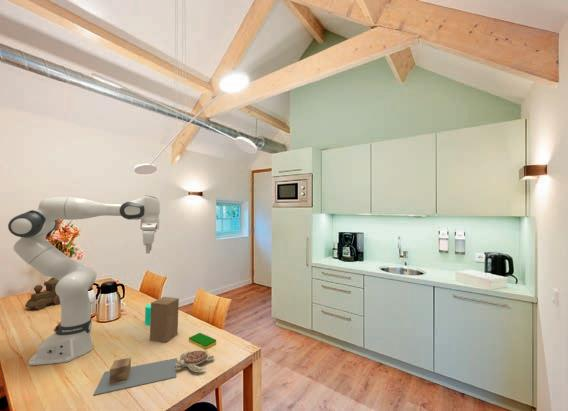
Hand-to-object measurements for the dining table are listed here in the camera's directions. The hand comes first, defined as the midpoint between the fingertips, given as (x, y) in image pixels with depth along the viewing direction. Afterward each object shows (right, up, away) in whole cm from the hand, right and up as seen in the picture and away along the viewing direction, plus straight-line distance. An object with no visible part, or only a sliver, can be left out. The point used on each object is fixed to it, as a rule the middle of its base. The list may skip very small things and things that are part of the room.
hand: (148, 251), depth 130 cm
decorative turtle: (+32, -47, -21) cm, 60 cm away
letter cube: (+6, -45, -31) cm, 55 cm away
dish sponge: (+30, -48, -2) cm, 56 cm away
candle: (-10, -48, +19) cm, 52 cm away
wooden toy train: (-98, -47, +44) cm, 118 cm away
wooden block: (+7, -47, +2) cm, 48 cm away
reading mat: (+12, -46, -29) cm, 56 cm away
